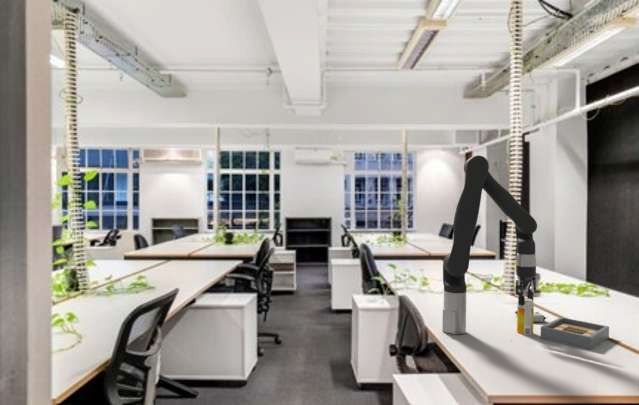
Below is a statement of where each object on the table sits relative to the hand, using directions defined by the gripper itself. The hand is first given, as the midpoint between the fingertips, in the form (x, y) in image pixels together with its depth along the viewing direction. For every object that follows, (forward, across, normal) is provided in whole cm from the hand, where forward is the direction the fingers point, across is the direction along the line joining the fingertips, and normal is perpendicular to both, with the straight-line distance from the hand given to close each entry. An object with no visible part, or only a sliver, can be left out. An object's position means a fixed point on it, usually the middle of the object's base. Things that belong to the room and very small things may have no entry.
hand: (525, 303), depth 184 cm
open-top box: (+14, -9, +16) cm, 23 cm away
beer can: (+14, 0, 0) cm, 14 cm away
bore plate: (+13, -9, +16) cm, 22 cm away
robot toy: (+14, -24, -8) cm, 29 cm away
